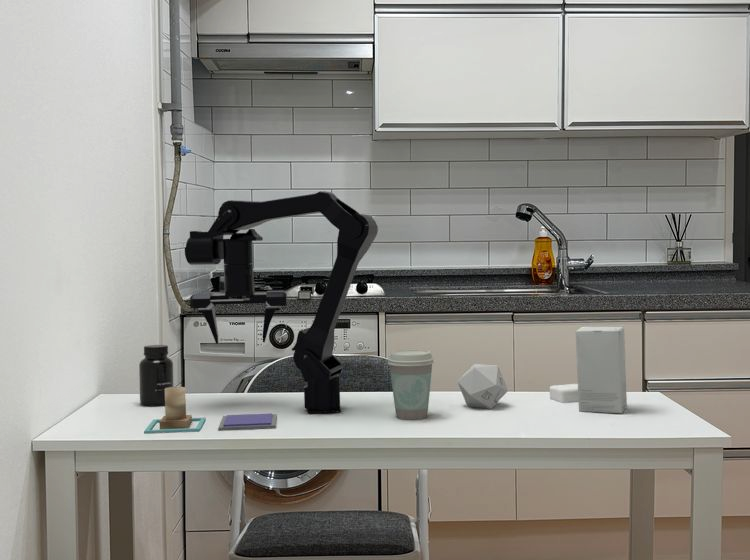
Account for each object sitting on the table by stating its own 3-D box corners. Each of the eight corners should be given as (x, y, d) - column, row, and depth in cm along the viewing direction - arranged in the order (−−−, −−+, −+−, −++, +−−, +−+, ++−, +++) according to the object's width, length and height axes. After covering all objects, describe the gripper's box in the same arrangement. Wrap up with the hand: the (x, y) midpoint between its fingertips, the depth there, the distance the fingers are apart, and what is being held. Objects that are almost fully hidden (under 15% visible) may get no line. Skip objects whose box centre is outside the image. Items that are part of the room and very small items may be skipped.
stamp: (191, 423, 154) (190, 385, 154) (188, 429, 149) (187, 390, 149) (164, 424, 153) (162, 386, 153) (159, 430, 149) (158, 391, 148)
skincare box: (627, 408, 159) (627, 326, 158) (622, 415, 153) (621, 330, 152) (582, 405, 163) (582, 325, 162) (575, 411, 157) (575, 328, 156)
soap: (562, 404, 165) (562, 389, 165) (548, 399, 170) (548, 385, 170) (602, 401, 168) (602, 386, 168) (587, 396, 173) (587, 382, 173)
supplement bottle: (165, 407, 170) (163, 348, 169) (134, 406, 171) (132, 348, 170) (179, 400, 176) (177, 343, 176) (149, 400, 178) (147, 343, 177)
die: (472, 416, 158) (504, 374, 157) (441, 388, 164) (472, 347, 163) (492, 424, 165) (523, 383, 163) (462, 396, 170) (492, 357, 169)
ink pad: (276, 416, 158) (276, 412, 158) (275, 428, 148) (275, 423, 148) (223, 418, 157) (223, 414, 157) (218, 430, 147) (218, 426, 147)
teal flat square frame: (205, 419, 157) (205, 417, 157) (200, 431, 147) (199, 428, 147) (153, 421, 156) (153, 419, 156) (144, 433, 146) (144, 431, 146)
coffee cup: (382, 420, 153) (380, 354, 152) (398, 410, 161) (396, 348, 160) (426, 422, 150) (425, 356, 149) (440, 413, 158) (439, 349, 157)
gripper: (286, 262, 175) (288, 336, 176) (195, 264, 173) (197, 339, 174) (285, 263, 164) (287, 343, 164) (188, 265, 162) (191, 346, 163)
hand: (240, 342), depth 167 cm, fingers open, 9 cm apart
